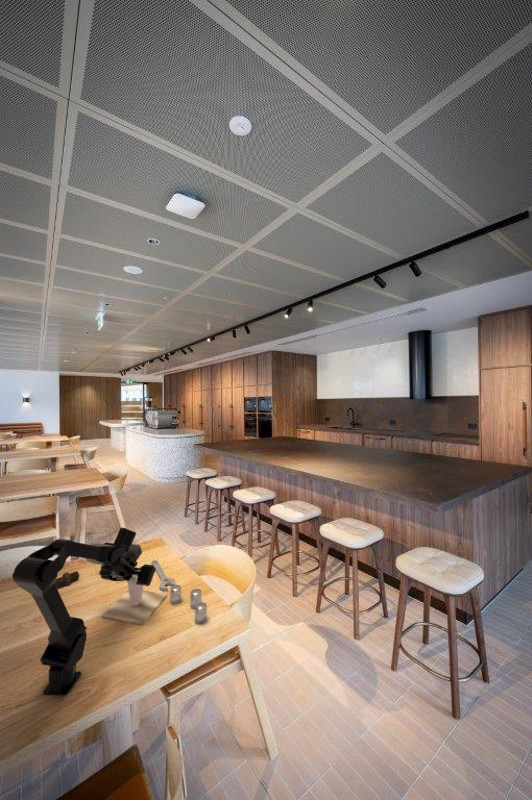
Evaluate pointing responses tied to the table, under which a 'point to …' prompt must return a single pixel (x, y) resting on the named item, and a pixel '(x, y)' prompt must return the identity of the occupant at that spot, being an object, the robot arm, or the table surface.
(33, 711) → the table surface
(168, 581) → the adjustable wrench
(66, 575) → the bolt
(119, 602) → the pad
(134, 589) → the smoothie
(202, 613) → the posts
